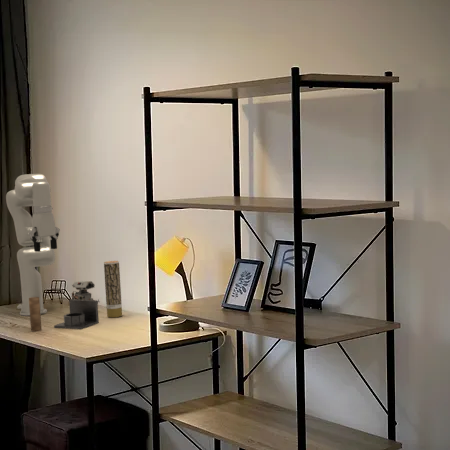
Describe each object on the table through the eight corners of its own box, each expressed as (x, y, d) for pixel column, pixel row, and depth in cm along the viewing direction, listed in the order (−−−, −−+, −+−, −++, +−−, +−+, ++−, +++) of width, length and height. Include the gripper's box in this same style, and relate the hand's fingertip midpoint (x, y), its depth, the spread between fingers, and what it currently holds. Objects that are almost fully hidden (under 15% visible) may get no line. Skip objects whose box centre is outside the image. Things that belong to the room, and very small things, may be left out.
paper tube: (119, 317, 369) (116, 262, 367) (105, 318, 371) (101, 263, 368) (124, 314, 376) (121, 260, 374) (110, 314, 377) (106, 260, 375)
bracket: (72, 321, 367) (71, 299, 366) (98, 323, 360) (97, 300, 360) (54, 327, 355) (52, 304, 354) (81, 329, 349) (79, 306, 348)
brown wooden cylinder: (28, 331, 351) (26, 298, 350) (35, 328, 355) (33, 296, 354) (37, 331, 349) (34, 299, 348) (43, 329, 353) (41, 297, 352)
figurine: (83, 316, 378) (81, 283, 377) (70, 313, 387) (68, 281, 385) (100, 312, 384) (98, 280, 383) (87, 309, 393) (85, 278, 391)
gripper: (51, 209, 364) (54, 247, 365) (21, 212, 350) (24, 252, 351) (63, 208, 360) (66, 247, 361) (34, 211, 345) (37, 252, 346)
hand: (45, 250), depth 356 cm, fingers open, 9 cm apart
